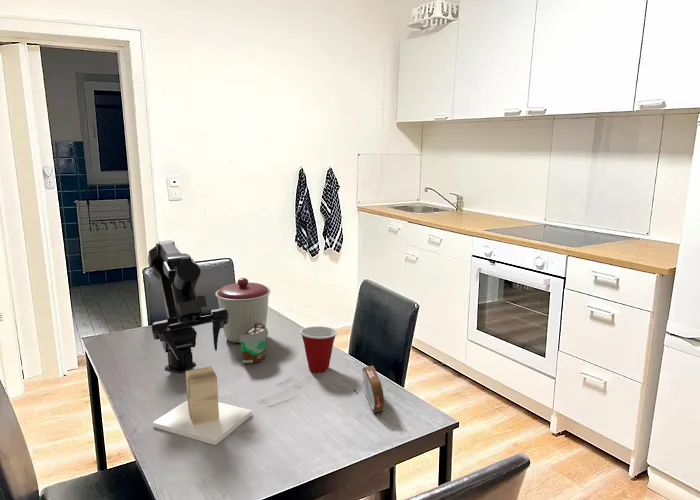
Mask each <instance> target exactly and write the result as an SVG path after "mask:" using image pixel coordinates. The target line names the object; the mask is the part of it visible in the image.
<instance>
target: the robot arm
mask: <svg viewBox="0 0 700 500" xmlns="http://www.w3.org/2000/svg"><path fill="white" fill-rule="evenodd" d="M147 264H148V267H149V269H150V268H151V272H152V276H154V277H155V278H156V279H158V280H159V283H160V289H161V293H162V298H163V303H164V308H165V312H166V316H167V319H164V320H159V321H155V322H152V324H151V332H152V337H153V340H159V342H162V348H163V350H164V352H165V353H167V362H168V365H166V366H164V369H165V370H168V371H173V372H177V373H184V371H185V372H186V371H188V369H190V368H192V367H194V366H196V364H197V363H196V362H195V361H194V360H193V352H192V348H195V347H196V345H197V332H198V331H196V329H195V327H197V326H201V325H206V324H210V323H212V327H211V328H212V339H213V347H214V351H215V352H217V351H218V342H219V341H218V340H219V336H220V335H219V334H220V330H221V329H223V327H224V324H227V323H228V318H229V315H228V311H227V309H226V308H215V309H211V311H210V313H211V314H208V315H205V316H202V309H203V308H207V305H208V304H207V300H206V295H205V294H201V295H197V290H196V287H197V285H198V283H199V282H198V281H199V279H200V276H201V272H202V271H201V267H200V266H199V264H198V263H196V262H195V260H194V259H193V258H192V256H191V255H190V254H188V253H184V252H183V253H182V252H181V251H180V250H179V249H178V248H177V246H176V244H175V241H174V240H162V241H161V240H160V241H158V242H156V243H155V246H154V247H152V248H151V249H150V250H149V251H148V256H147Z"/></svg>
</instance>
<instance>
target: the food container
mask: <svg viewBox="0 0 700 500" xmlns="http://www.w3.org/2000/svg"><path fill="white" fill-rule="evenodd" d="M268 336H269V330H268V327H267V324H266V325H265V324H263V323H259V322H255V325H254V326H253V327H252V328H250V329H248V330H247V332H246V333H245V334H244V335H240V342H241V343H240V350H241V360H242V366H253V365H258V364H261V363H263V362H264V361H265V359H266V345H267V337H268Z"/></svg>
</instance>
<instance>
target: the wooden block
mask: <svg viewBox="0 0 700 500" xmlns="http://www.w3.org/2000/svg"><path fill="white" fill-rule="evenodd" d="M217 376H218V375H217V374H216V373H215V370H214V369H213V367H212V366H205V367H200V368H195V369H190V370H185V382H186V383H185V384H186V395H187V397H186V398H187V399H186V400H188V413H189V416H190V419H191V421H192V424H193V425H197V424H202V423H206V422H210V421H214V420H218V419H219V407H218V402H219V394H218V377H217Z"/></svg>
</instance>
